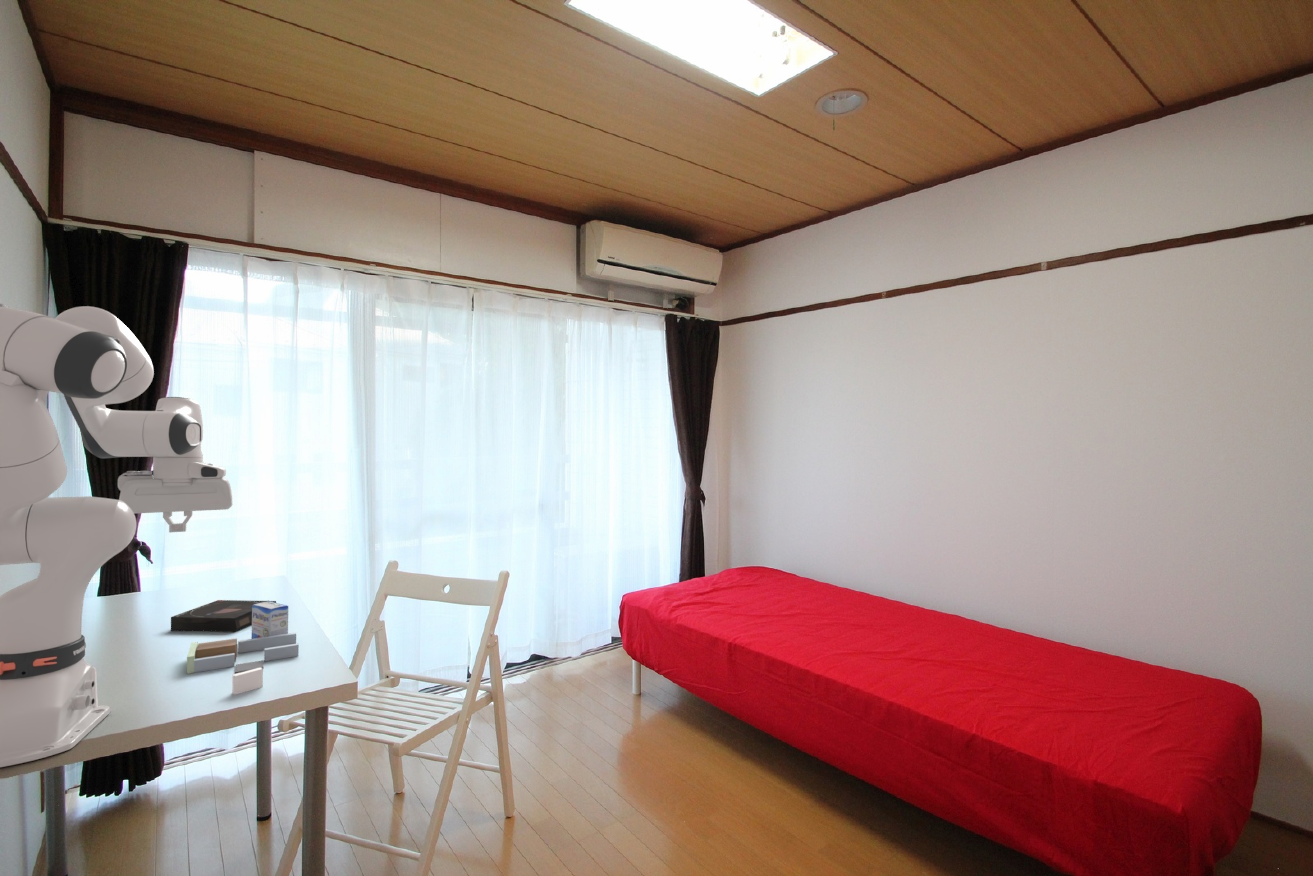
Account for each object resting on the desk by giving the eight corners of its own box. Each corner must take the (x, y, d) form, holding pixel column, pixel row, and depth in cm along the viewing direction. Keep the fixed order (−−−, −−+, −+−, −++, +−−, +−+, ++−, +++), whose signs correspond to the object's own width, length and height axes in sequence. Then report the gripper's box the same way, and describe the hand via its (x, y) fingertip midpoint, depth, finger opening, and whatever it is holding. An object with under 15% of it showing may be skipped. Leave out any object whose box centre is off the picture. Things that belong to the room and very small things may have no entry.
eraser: (232, 693, 120) (232, 674, 120) (260, 685, 124) (260, 667, 124) (234, 695, 120) (234, 676, 120) (262, 687, 123) (263, 668, 123)
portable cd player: (236, 634, 157) (237, 618, 157) (170, 632, 158) (170, 617, 158) (278, 615, 174) (278, 601, 174) (217, 614, 174) (218, 600, 174)
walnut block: (235, 663, 137) (235, 644, 137) (196, 668, 133) (196, 650, 133) (236, 656, 141) (236, 638, 141) (198, 661, 137) (198, 643, 137)
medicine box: (250, 640, 151) (251, 604, 151) (269, 635, 155) (269, 600, 155) (270, 645, 148) (270, 609, 147) (288, 640, 151) (289, 604, 151)
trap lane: (299, 662, 136) (299, 646, 136) (184, 681, 125) (184, 664, 125) (294, 637, 154) (294, 623, 154) (193, 652, 143) (193, 636, 143)
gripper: (114, 471, 131) (114, 537, 131) (231, 469, 142) (231, 530, 142) (120, 470, 137) (120, 533, 136) (233, 468, 147) (232, 527, 147)
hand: (177, 531), depth 139 cm, fingers closed
